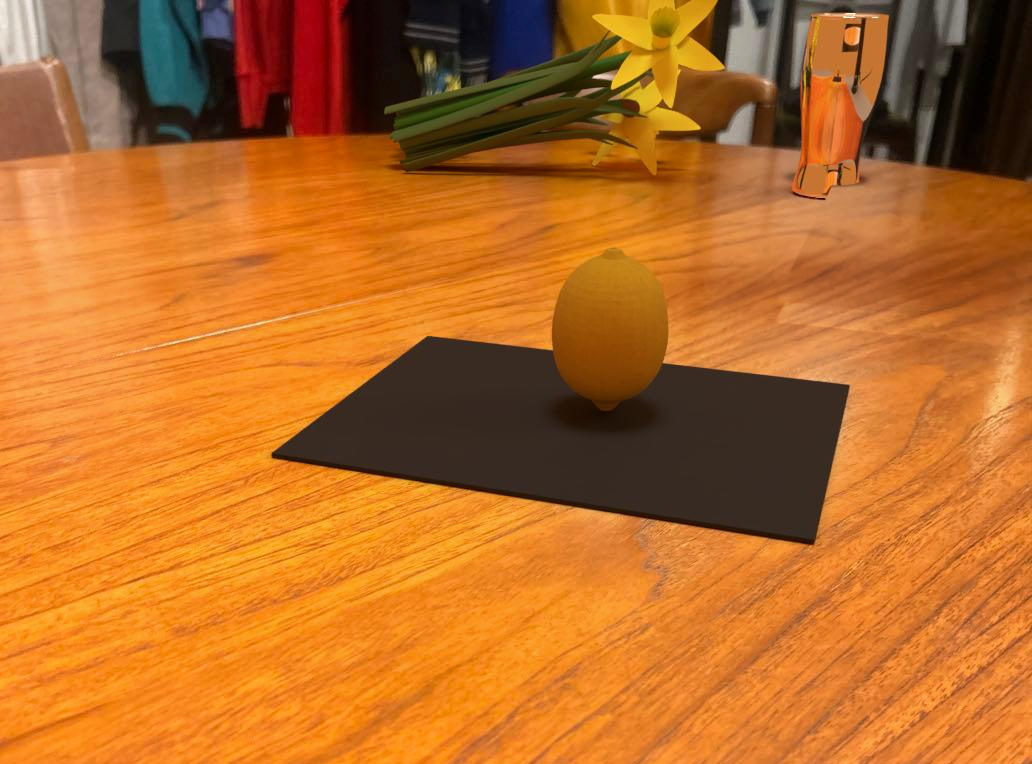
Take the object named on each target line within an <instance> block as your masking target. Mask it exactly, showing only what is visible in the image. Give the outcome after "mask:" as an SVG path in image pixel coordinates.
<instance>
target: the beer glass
mask: <svg viewBox="0 0 1032 764" xmlns="http://www.w3.org/2000/svg"><path fill="white" fill-rule="evenodd" d="M889 18H890V15H889V14H885V13H870V12H869V13H867V12H819V13H818V12H817V13H812V14H810V18H809V19H810V20H809V24H808V30H807V35H806V38H805V39H806V40H805V45H804V49H803V56H802V62H801V71H800V82H799V83H800V84H799V85H800V87H799V88H800V89H799V91H800V94H799V99H800V103H799V105H800V127H801V144H800V145H801V146H800V154H799V160H798V164H797V169H796V172H795V174H794V179H793V181H792V185H791V192H792V191H794V192H796V193H800V194H803V195H807V196H814V197H826V198H827V197H828V195H829V193H830V191H831V189H832V187H833V186H848V185H849V186H850V185H856V184H858V183H860V160H861V153H862V148H863V143H864V140H865V136H866V133H867V131H868V128H869V124H870V121H871V118H872V116H873V112H874V109H875V106H876V102H877V99H878V96H879V91H880V88H881V85H882V79H883V73H884V68H885V60H886V53H887V42H888V28H889V27H888V26H889V20H890V19H889Z"/></svg>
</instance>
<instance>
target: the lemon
mask: <svg viewBox="0 0 1032 764" xmlns="http://www.w3.org/2000/svg"><path fill="white" fill-rule="evenodd" d="M555 302H556V303H555V306H554V311H553V316H552V323H551V344H552V350H553V353H554V358H555V362H556V365H557V368H558V371H559V372H560V374H561V376H562V378H563V379H564V380H565V382H566V383H567V384H568V385H569V387H570V388H572V389H573V390H574V391H575V392H576V393H578V394H579V395H581V396H582V397H584V398H587V399H590V400H592V401H593V403H594V404H595V405H596V406H597V407H598V408H599V409H600V410H602V411H611V410H612V409H614V408H615V407H616V406H617V405H618V404H619V403H620V402H621V401H624V400H627V399H630V398H632V397H634V396H636V395H638V394H639V393H641V392H642V391H643V390H645V389H646V388H647V387H648V386H649V385H650V383H651V382H652V381H653V380H654V378H655V377H656V375H657V374H658V372H659V370H660V368H661V366H662V363H664V362H665V361H664V360H665V357H666V353H667V349H668V344H669V343H668V342H669V314H668V306H667V301H666V297H665V292H664V290H663V287H662V285H661V283H660V281H659V279H657V277H656V276H655V274H654V273H653V272H652V271H651V270H650V268H648V267H647V266H646V265H645V264H644V263H642V262H641V261H639V260H637V259H636V258H633V257H631V256H629V255H627V254H626V253H625V252H624V250H623V249H622V248H620V247H608V248H606V249H605V251H603V253H602V254H599V255H597V256H594V257H592V258H589V259H588V260H586V261H584V262H583V263H581V264H579V266H576V268H575V269H574V270H572V272H571V273H570V274H569V275H568V277H567V278H566V280H565V281H564V282H563V285H562V287H561V288H560V291H559V293H558V296H557V299H556V301H555Z"/></svg>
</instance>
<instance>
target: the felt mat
mask: <svg viewBox="0 0 1032 764" xmlns="http://www.w3.org/2000/svg"><path fill="white" fill-rule="evenodd" d="M850 386H851V384H849V383H848V384H847V383H839V382H829V381H823V380H822V381H821V380H812V379H805V378H796V377H795V378H794V377H787V376H780V375H779V376H778V375H770V374H762V373H752V372H744V371H736V370H727V369H717V368H710V367H709V368H708V367H700V366H692V365H683V364H675V363H667V362H663V363H662V366H661V368H660V370H659V372H658V374H657V375H656V377H655V378H654V380H653V381H652V382H651V383H650V385H649V386H648V387H647V388H646V389H645V390H643V391H642V392H641V393H639V394H638V395H636V396H634V397H632V398H630V399H627V400H624V401H621V402H620V403H619V404H618V405H617V406H616V407H615V408H614V409H612V410H611V411H602V410H600V409H599V408H598V407H597V406H596V405H595V404H594V403H593V401H592V400H590V399H587V398H584V397H582V396H581V395H579V394H578V393H576V392H575V391H574V390H573V389H572V388H570V387H569V385H568V384H567V383H566V382H565V380H564V379H563V378H562V376H561V374H560V372H559V371H558V368H557V365H556V362H555V358H554V353H553V349H546V348H537V347H528V346H520V345H511V344H502V343H495V342H494V343H493V342H485V341H478V340H477V341H476V340H468V339H461V338H459V339H458V338H452V337H451V338H450V337H442V336H434V335H426V336H425V337H424V338H423V339H421V340H420V341H418V342H417V343H416V344H414V345H413V346H412V347H410V348H409V349H408V350H406V351H405V352H404V353H402V354H401V355H400V356H399V357H397V358H395V359H394V360H393V361H392V362H391V363H389V364H388V365H386V366H385V367H384V368H383V369H381V370H380V371H378V372H377V373H376V374H374V375H373V376H372V377H370V378H369V379H368V380H366V381H365V382H363V384H361V385H360V386H359V387H357V388H356V389H355V390H353V391H352V392H350V393H349V394H348V395H347V396H345V397H344V398H342V399H341V400H340V401H338V402H337V403H336V404H334V406H332V407H331V408H329V409H328V410H327V411H325V412H324V413H322V414H321V415H320V416H318V417H317V418H316V419H315V420H313V421H312V422H311V423H309V424H308V425H307V426H305V427H304V428H303V429H301V430H300V431H298V433H295V435H293V436H292V437H290V439H288V440H287V441H285V442H284V443H283V444H281V445H280V446H279V447H277V448H276V449H275V450H273V451H272V452H271V458H276V459H281V460H282V459H283V460H289V461H295V462H302V463H307V464H313V465H320V466H326V467H332V468H339V469H346V470H351V471H357V472H363V473H370V474H374V475H375V474H376V475H381V476H388V477H395V478H399V479H400V478H402V479H406V480H413V481H419V482H426V483H431V484H437V485H438V484H439V485H444V486H451V487H457V488H464V489H469V490H476V491H480V492H481V491H482V492H487V493H494V494H499V495H507V496H513V497H519V498H526V499H530V500H538V501H545V502H551V503H556V504H563V505H569V506H576V507H581V508H587V509H593V510H600V511H606V512H612V513H619V514H625V515H632V516H637V517H645V518H650V519H655V520H656V519H657V520H662V521H668V522H676V523H679V524H680V523H681V524H686V525H694V526H701V527H705V528H711V529H712V528H713V529H718V530H724V531H731V532H736V533H737V532H738V533H743V534H750V535H755V536H761V537H766V538H767V537H768V538H774V539H780V540H787V541H793V542H799V543H804V544H805V543H806V544H812V545H814V544H815V542H816V538H817V533H818V529H819V525H820V519H821V516H822V511H823V506H824V502H825V498H826V493H827V490H828V489H827V488H828V484H829V480H830V477H831V476H830V475H831V471H832V467H833V463H834V459H835V453H836V449H837V444H838V441H839V437H840V431H841V426H842V422H843V418H844V414H845V408H846V404H847V402H848V401H847V400H848V397H849V396H848V395H849V391H850Z"/></svg>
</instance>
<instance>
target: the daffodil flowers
mask: <svg viewBox="0 0 1032 764" xmlns="http://www.w3.org/2000/svg"><path fill="white" fill-rule="evenodd" d="M718 1H719V0H689V1H688V2H686V3H684V4H682V5H681V6H679V7H678V8H676V6H675V5H676V4H675V0H648V6H647V12H646V13H647V14H646V15H647V18H644V17H638V16H633V15H632V16H631V15H625V14H606V13H596V14H593V15H591V18H592V19H593V20H594V21H595V22H597V23H599V24H600V25H601V26H603V27H604V28H606V29H607V30H608V31H607V32H606V33H605V34H604V35H603V37H602V38H601V39H600V40H599V42H596V43H594V44H591V45H589V46H586V47H583V48H581V49H578V50H575V51H573V52H570V53H567V54H565V55H562V56H560V57H559V56H558V57H557V58H554V59H552V60H549V61H545V62H543V63H540V64H537V65H534V66H531V67H528V68H526V69H523V70H522V69H521V70H519V71H517V72H514V73H511V74H508V75H505V76H502V77H499V78H496V79H494V80H490V81H487V82H483V83H479V84H475V85H470V86H465V87H462V88H456V89H452V90H448V91H443V92H439V93H434V94H430V95H427V96H423V97H420V98H416V99H412V100H408V101H404V102H399V103H396V104H391V105H389V106H385V108H384V116H385V115H390V114H394V113H395V115H396V117H394V123H393V124H392V127H393V130H394V131H392V133H390V134H389V139H390V140H392V143H393V144H395V143H398V144H399V147H400V149H401V150H402V152H403V153H404V155H405V158H402V159H399V163H400V165H401V167H402V169H403V170H404V172H405V173H406V172H407V173H409V172H413V171H416V170H420V169H423V168H427V167H430V166H431V167H432V166H434V165H437V164H441V163H444V162H447V161H450V160H454V159H457V158H461V157H463V156H467V155H469V154H474V153H479V152H486V151H489V150H490V151H491V150H496V149H501V148H503V149H504V148H510V147H518V146H525V145H531V144H541V143H548V142H556V141H558V142H559V141H571V140H584V139H586V140H587V139H589V140H593V141H596V142H599V143H601V145H600V147H599V149H598V150H597V153H596V154H595V157H594V159H593V160H592V163H591V165H594V166H596V165H598V164H599V163H600V162H601V160H603V158H605V157H607V155H609V154H610V153H611V152H613V151H614V150H615V149H616V148H618V147H619V146H620V145H623V146H626V147H629V148H632V149H634V150H635V152H636V154H637V156H638V157H639V158H640V160H641V162H642V163H643V164H644V166H645V167H646V169H648V171H649V172H650V174H651V175H653V176H654V175H655V176H656V175H657V173H658V172H657V170H658V163H657V148H656V147H657V146H656V141H655V139H657V136H658V135H660V132H659V131H662V132H663V131H664V132H665V131H666V132H667V131H668V132H685V131H698V130H701V129H702V127H701V126H700V125H699V124H698V123H697V122H695V121H694V120H693V119H691V118H690V117H689V116H687V115H684V114H682V113H681V112H678V111H675V110H670V109H673V107H674V102H675V97H676V93H677V85H678V77H679V75H680V73H681V71H682V70H681V69H679V66H683V67H685V68H689V69H692V70H695V71H703V72H714V71H715V72H717V71H722V70H725V69H726V67H725V66H724V64H723V63H722V62H721V61H720V60H719V59H718V58H717V57H716V56H715V55H714V54H713V53H712V52H710V51H709V50H708V49H707V48H706V47H704V46H703V45H702V44H700V43H699V42H698V41H696V40H695V39H694V38H693V37H691V36H688V35H689V34H690V33H691V32H692V31H693V30H694V29H695V28H696V27H697V26H698V25H699V24H700V23H702V22H703V21H704V20H705V19H706V18H707V17H708V16H709V14H710V13H711V11H712V10H713V9H714V7H715V6H716V5H717V3H718ZM610 32H612V33H613V34H615V35H613V36H611V37H608V38H607V36H608V35H609V33H610ZM622 39H624V40H625V41H627V42H630V43H631V44H633V45H635V46H634V47H633V49H632V50H629V51H624V52H621V53H618V54H613V55H610V56H606V57H603V58H600V57H602V55H603V54H604V53H606V52H607V51H609V50H610V49H611V48H613V47H614V46H615V45H617V43H619V41H621V40H622ZM599 58H600V59H599ZM617 70H618V71H617ZM613 71H617V73H616V75H615V76H614V78H613V79H612V80H610V79H606V78H605V79H604V78H594V77H595V76H599V75H603V74H607V73H609V72H613ZM646 76H648V77H651V78H654V79H653V80H652V81H651V82H649V84H648V85H647V86H645V87H644V88H643V86H642V84H641V80H643V79H644V78H645V77H646ZM591 89H598V90H595V91H592V92H590V93H587V94H584V95H582V96H578V95H580V93H581V92H582V91H584V90H591ZM559 94H561V95H559ZM554 95H558V96H556V97H554V98H551V99H546V100H542V101H538V102H533V103H532V102H531V103H528V104H524V105H520V106H516V107H512V108H507V107H510V106H515V105H519V104H522V103H527V102H530V101H534V100H537V99H543V98H546V97H549V96H554ZM618 95H619V98H618V99H612V98H614V97H616V96H618ZM662 100H663V102H664V104H665V105H666V106H667V107H668V108H670V109H667V108H663V107H658V105H659V104H660V103H661V102H662ZM503 108H507V109H503ZM499 109H503V110H500V111H495V110H499ZM492 111H495V112H492ZM490 112H492V113H490ZM596 117H599V118H602V119H604V120H606V121H609V122H611V123H614V124H613V125H612V127H611V129H610V130H609V132H604V131H599V130H593V129H579V130H577V129H576V130H574V129H560V130H552V129H556V128H560V127H563V126H567V125H571V124H575V123H583V124H590V125H598V126H599V125H600V126H609V123H607V122H604V121H602V120H599V119H596ZM627 138H628V140H629V142H628V141H626V139H627Z"/></svg>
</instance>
